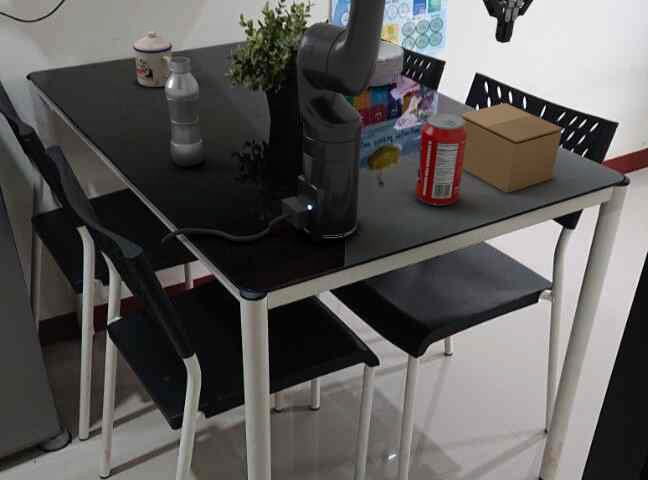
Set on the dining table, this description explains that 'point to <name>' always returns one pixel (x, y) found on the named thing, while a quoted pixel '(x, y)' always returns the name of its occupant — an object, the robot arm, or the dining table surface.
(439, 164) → the soda can
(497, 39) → the robot arm
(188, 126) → the plastic bottle
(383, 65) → the paper bowls
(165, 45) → the teacup with lid
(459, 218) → the dining table surface
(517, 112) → the flap
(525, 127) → the carton
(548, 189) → the dining table surface
